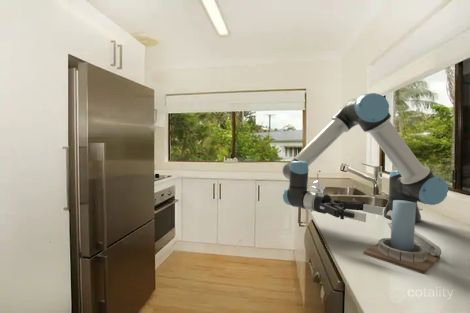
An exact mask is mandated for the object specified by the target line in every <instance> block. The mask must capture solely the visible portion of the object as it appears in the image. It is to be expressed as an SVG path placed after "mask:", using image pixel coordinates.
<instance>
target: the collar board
mask: <svg viewBox="0 0 470 313" xmlns="http://www.w3.org/2000/svg"><path fill="white" fill-rule="evenodd" d="M390 245H391V237H385V238H380V239H379V240H378V243H376V244H374V245H372V246H370V247H368V248H365V249H364V250H363V254H364V255H367V256H370V257H373V258H376V259H379V260H382V261H385V262H388V263H391V264H394V265H398V266H401V267H403V268H406V269H409V270H412V271H415V272H418V273H421V274H426V273H427V272H428V271H429V270H431V268H432V267H433V266H434V265H435V264H436V263H437V262H438V261H439V260H440V259H441V255H440V256H433V255H431V254H430V253H429V252H427V250H426V248H425V247H423V246H421V245H419V244H417V243H416V242H414V248H413V252H407V251H400V250H397V249H394V248H391V247H390Z"/></svg>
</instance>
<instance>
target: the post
mask: <svg viewBox="0 0 470 313" xmlns="http://www.w3.org/2000/svg"><path fill="white" fill-rule="evenodd" d="M415 214H416V203H414V202H410V201H404V200H393V210H392V219H391V223H392V227H391V228H390V230H391V231H390V238H391V245H390V247H391V248H394V249H397V250H400V251H407V252H413V248H414V243H415V242H414V231H416V222H415Z"/></svg>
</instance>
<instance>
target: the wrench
mask: <svg viewBox="0 0 470 313" xmlns="http://www.w3.org/2000/svg"><path fill="white" fill-rule="evenodd" d="M387 215H390V216H391V219H390V220H392V211H391V210H390V211H388V212H387ZM387 225H388V227H389V228H390V229H391V227H392V222H388V223H387ZM414 243H417V244H419V245H421V246H423V247H425V248H426V250H427V252H429V253H430V254H431V255H433V256H440V257H441V255H442V248H441V247H440V246H439V245H437V244H435V242H433V241H431V240H429V239H428V238H426V237H425V236H424V235H422V234H420V233H419V232H417V231H416V230H415V231H414Z"/></svg>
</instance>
